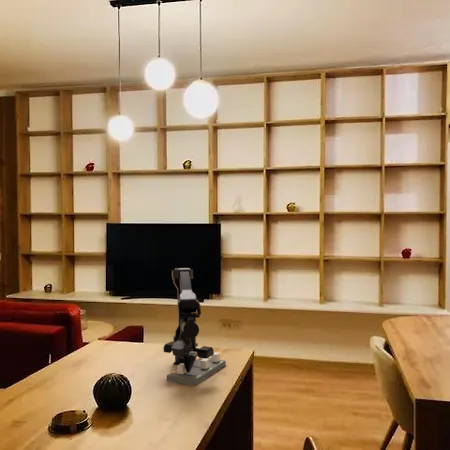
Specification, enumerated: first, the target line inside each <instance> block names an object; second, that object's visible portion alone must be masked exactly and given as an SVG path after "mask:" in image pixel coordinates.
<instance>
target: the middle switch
mask: <svg viewBox="0 0 450 450" xmlns="http://www.w3.org/2000/svg"><path fill="white" fill-rule="evenodd" d="M208 367H209V359H205V358H204V359H202V360H200V368H203V369H207V368H208Z"/></svg>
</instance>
